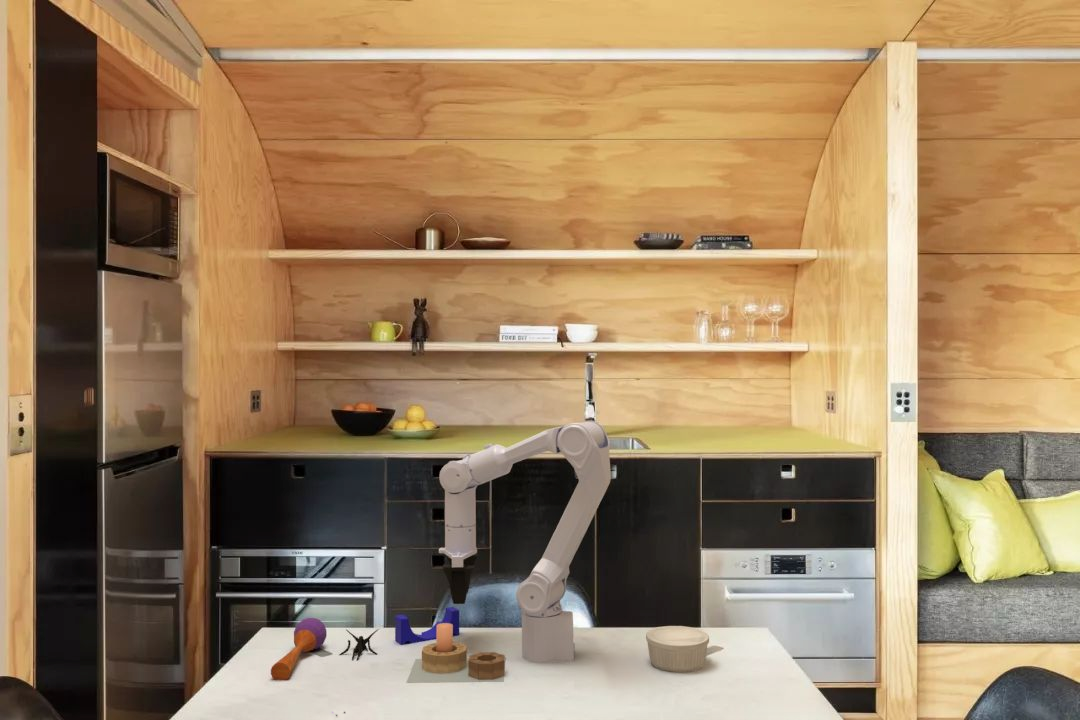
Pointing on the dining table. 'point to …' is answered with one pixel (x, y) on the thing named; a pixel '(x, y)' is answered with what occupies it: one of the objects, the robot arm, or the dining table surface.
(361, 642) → the creature
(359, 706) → the dining table surface
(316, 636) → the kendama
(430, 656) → the oak bead
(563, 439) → the robot arm
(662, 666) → the ramekin
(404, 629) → the blue curved cradle
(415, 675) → the board
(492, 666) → the walnut bead
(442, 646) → the orange rounded peg
